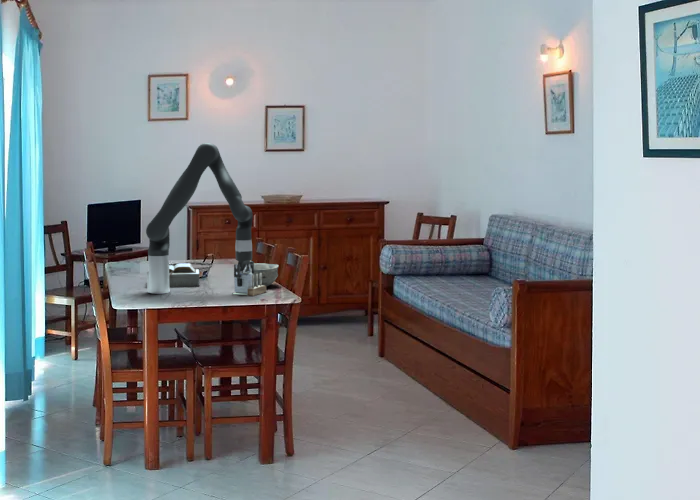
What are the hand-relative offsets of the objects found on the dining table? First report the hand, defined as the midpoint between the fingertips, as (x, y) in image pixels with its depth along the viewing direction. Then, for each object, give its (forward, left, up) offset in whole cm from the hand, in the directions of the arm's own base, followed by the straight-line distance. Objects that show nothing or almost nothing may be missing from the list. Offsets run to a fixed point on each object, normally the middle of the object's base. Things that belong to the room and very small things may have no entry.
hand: (244, 285), depth 413 cm
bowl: (-4, +20, -4) cm, 21 cm away
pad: (+1, 0, -4) cm, 4 cm away
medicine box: (0, 0, -4) cm, 4 cm away
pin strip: (+7, 0, -4) cm, 7 cm away
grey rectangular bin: (-45, +11, -4) cm, 47 cm away
